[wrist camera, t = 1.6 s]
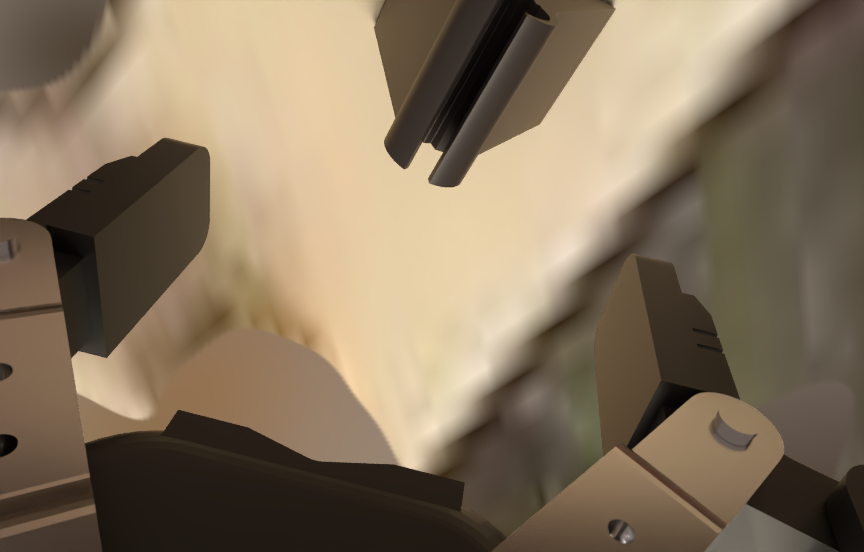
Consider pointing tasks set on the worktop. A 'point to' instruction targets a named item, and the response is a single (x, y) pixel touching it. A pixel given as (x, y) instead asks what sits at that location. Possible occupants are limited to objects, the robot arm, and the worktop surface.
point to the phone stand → (477, 71)
